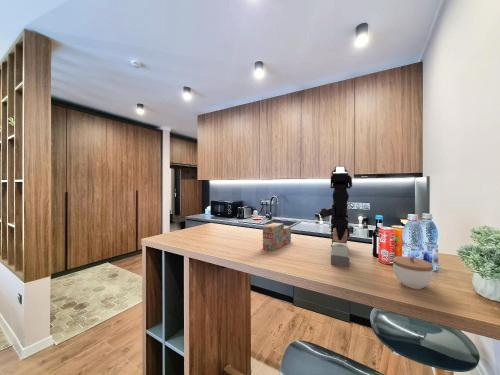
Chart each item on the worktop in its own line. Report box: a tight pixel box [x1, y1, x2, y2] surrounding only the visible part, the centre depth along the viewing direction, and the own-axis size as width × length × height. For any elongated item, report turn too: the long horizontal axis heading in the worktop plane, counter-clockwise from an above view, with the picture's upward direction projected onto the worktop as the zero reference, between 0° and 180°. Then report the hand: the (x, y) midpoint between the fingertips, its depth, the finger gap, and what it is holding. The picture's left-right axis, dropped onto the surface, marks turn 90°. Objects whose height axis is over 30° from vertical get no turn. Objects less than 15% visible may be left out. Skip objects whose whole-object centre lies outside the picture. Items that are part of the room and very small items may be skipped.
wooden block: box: [332, 228, 348, 243], centre depth 90 cm, size 6×6×5 cm
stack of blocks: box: [262, 222, 292, 252], centre depth 116 cm, size 21×6×12 cm, turn 144°
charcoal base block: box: [330, 252, 350, 268], centre depth 90 cm, size 7×7×4 cm
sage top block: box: [331, 242, 349, 257], centre depth 90 cm, size 6×6×4 cm
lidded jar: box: [392, 255, 434, 290], centre depth 70 cm, size 11×11×9 cm
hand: (340, 238), depth 90 cm, fingers closed on wooden block, 5 cm apart
